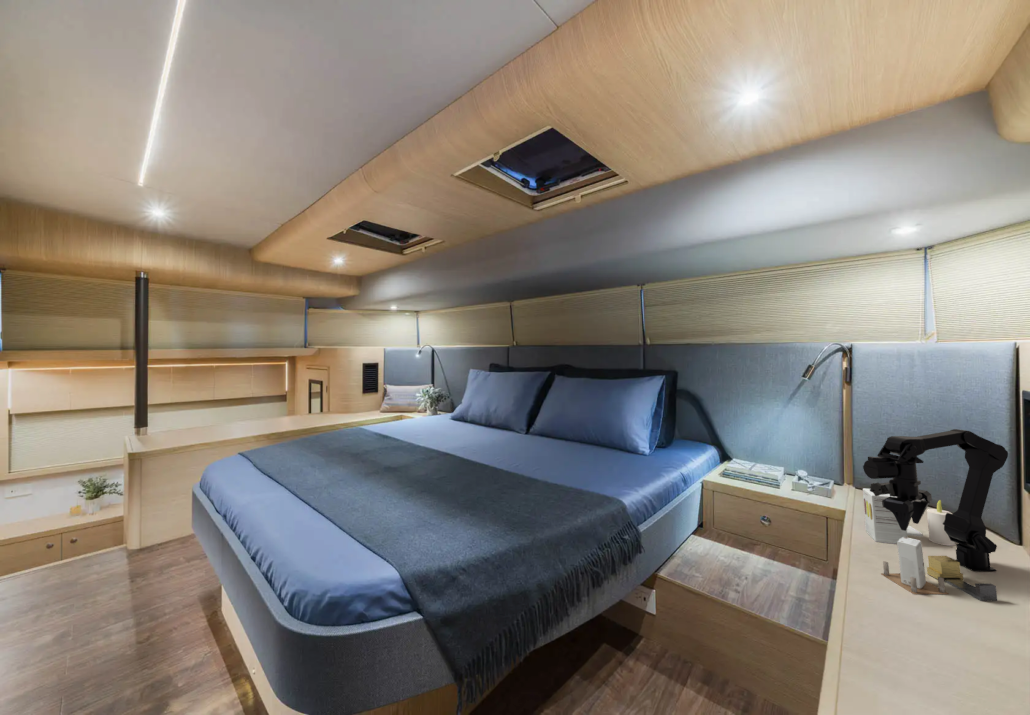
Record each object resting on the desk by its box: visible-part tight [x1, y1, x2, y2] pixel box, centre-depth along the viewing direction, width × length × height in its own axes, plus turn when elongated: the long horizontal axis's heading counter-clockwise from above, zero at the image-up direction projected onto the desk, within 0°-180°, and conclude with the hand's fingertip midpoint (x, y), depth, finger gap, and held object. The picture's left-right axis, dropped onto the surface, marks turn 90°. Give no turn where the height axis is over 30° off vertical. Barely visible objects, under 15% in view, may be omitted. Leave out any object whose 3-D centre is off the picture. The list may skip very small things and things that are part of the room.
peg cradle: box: [880, 561, 950, 595], centre depth 116 cm, size 9×11×4 cm
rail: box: [944, 578, 998, 602], centre depth 113 cm, size 4×14×4 cm, turn 175°
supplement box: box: [862, 488, 908, 545], centre depth 145 cm, size 10×9×17 cm
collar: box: [926, 555, 964, 581], centre depth 118 cm, size 6×4×5 cm, turn 85°
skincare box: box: [896, 536, 927, 589], centre depth 116 cm, size 6×4×12 cm
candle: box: [926, 499, 956, 547], centre depth 141 cm, size 6×6×15 cm
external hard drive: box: [907, 525, 924, 537], centre depth 151 cm, size 2×8×12 cm
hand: (909, 526), depth 125 cm, fingers open, 9 cm apart
